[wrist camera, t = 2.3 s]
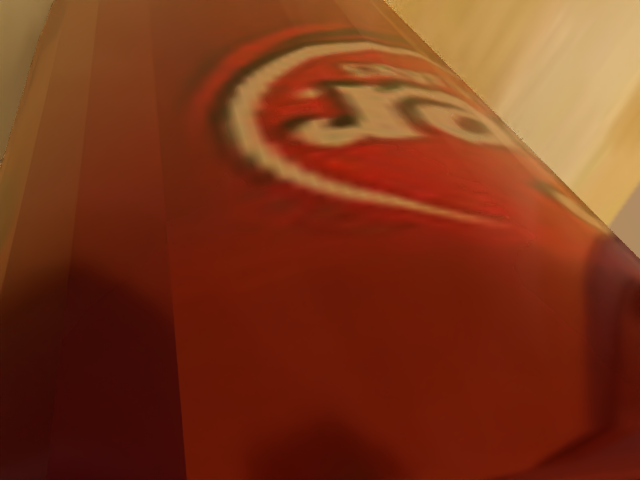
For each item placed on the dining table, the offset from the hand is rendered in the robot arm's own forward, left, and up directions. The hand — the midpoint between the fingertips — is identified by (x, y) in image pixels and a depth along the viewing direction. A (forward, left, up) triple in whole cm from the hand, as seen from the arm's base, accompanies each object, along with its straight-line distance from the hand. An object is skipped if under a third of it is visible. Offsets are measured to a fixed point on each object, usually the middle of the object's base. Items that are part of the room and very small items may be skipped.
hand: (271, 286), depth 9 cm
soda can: (0, 0, -6) cm, 6 cm away
